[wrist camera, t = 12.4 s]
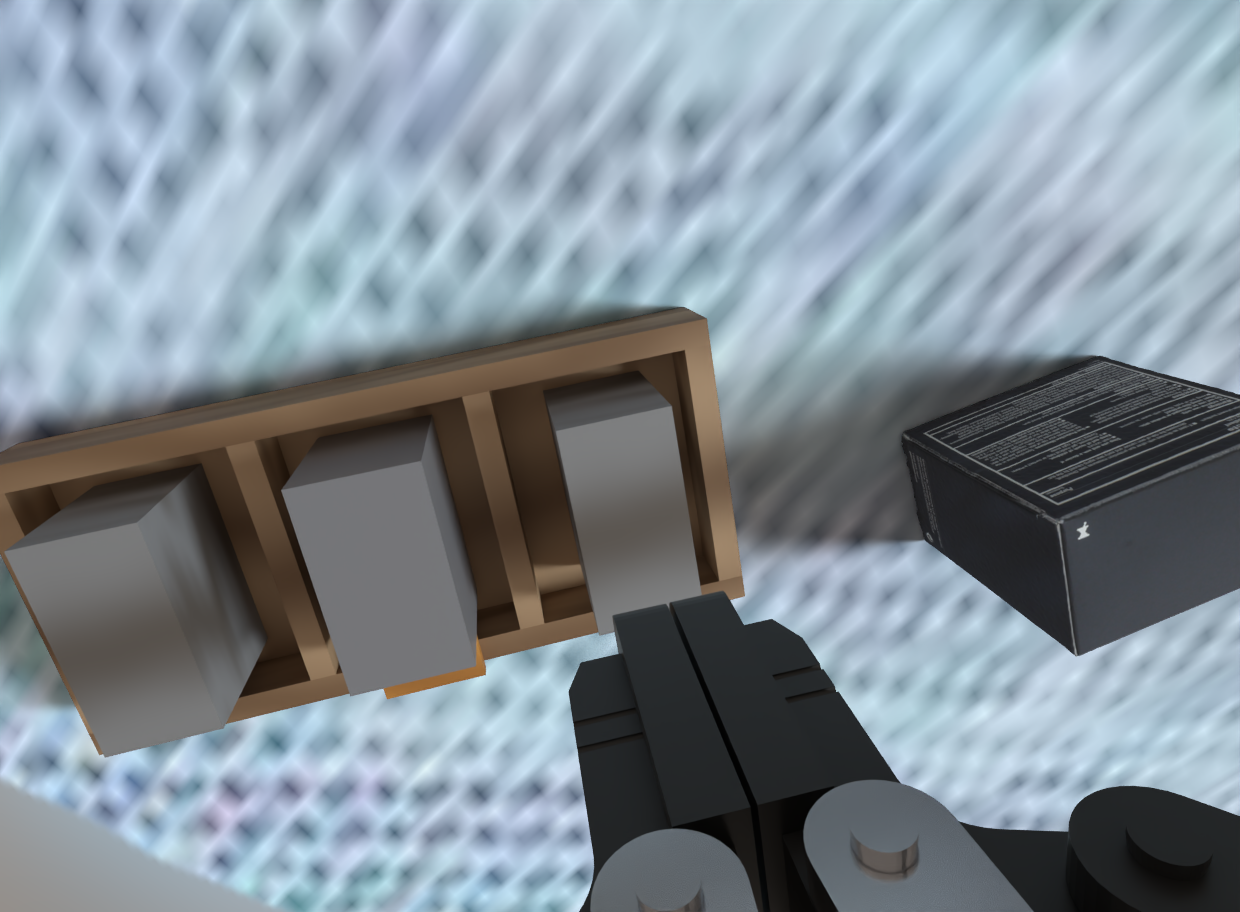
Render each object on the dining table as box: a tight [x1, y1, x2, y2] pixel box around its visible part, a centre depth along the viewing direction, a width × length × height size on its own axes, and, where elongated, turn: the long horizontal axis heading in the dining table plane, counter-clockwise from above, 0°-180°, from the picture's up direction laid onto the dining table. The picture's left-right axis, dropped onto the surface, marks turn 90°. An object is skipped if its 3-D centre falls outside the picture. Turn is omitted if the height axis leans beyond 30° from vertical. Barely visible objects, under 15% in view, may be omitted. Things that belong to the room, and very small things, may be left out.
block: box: [281, 414, 477, 696], centre depth 29 cm, size 8×4×6 cm, turn 10°
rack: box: [0, 307, 745, 757], centre depth 30 cm, size 12×26×7 cm, turn 100°
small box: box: [902, 356, 1240, 656], centre depth 32 cm, size 11×6×10 cm, turn 109°
